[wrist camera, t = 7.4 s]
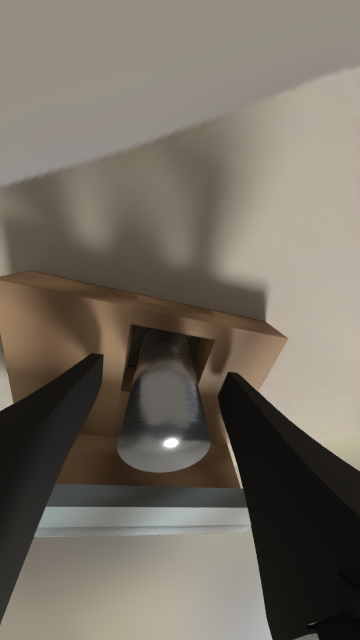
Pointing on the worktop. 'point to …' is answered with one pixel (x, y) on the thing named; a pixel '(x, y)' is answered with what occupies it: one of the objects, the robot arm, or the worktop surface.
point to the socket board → (109, 408)
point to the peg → (164, 408)
